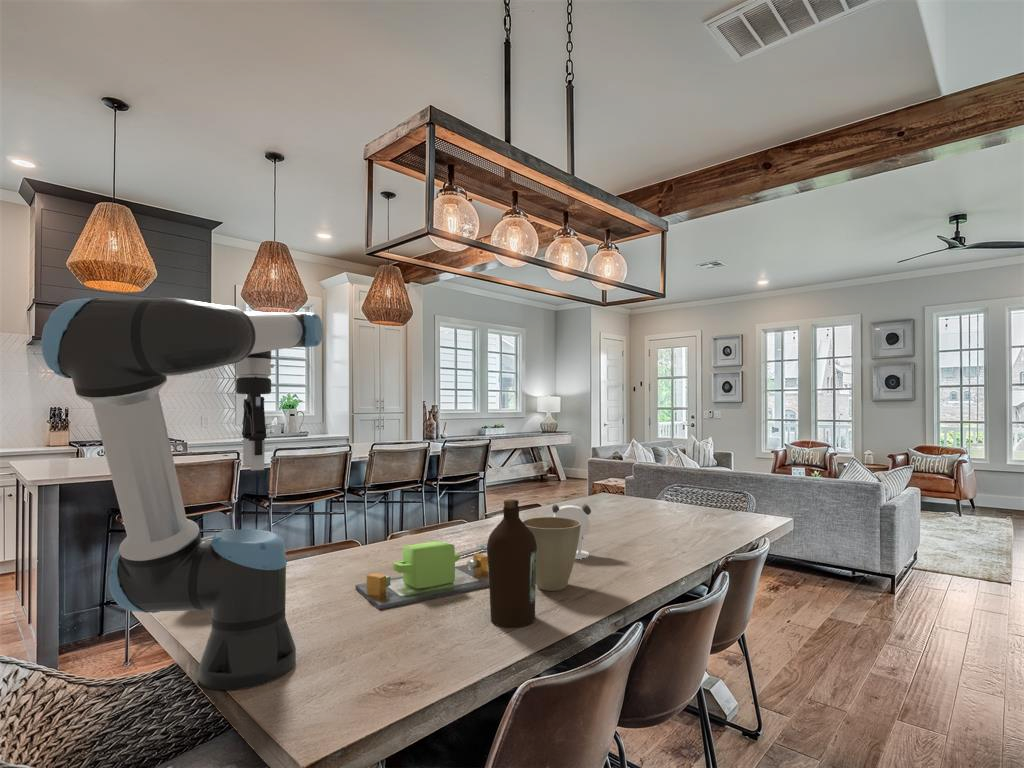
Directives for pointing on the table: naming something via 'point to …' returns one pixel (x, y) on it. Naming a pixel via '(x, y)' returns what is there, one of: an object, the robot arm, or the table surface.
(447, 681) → the table surface
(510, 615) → the olive oil
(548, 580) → the plant pot
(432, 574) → the green block with lugs
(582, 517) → the panda figurine
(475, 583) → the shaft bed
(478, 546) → the adjustable wrench
